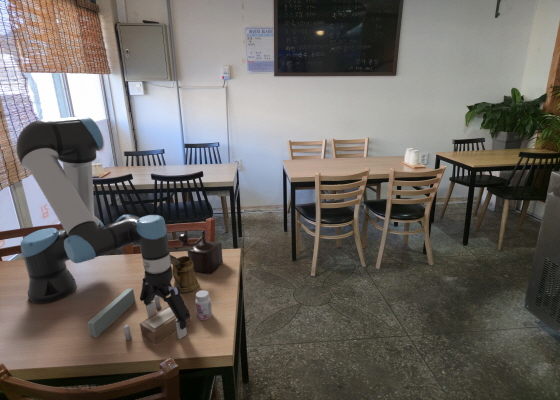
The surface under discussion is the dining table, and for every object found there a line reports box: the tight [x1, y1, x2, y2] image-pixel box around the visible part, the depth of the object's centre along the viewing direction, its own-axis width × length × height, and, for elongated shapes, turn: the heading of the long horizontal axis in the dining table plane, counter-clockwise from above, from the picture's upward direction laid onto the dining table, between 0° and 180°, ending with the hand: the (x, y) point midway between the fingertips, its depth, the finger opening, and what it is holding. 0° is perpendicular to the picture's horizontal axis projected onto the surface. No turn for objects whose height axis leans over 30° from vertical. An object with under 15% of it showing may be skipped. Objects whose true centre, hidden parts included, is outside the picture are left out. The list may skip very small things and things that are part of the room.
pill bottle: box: [195, 290, 213, 321], centre depth 113 cm, size 5×5×8 cm
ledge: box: [87, 287, 161, 341], centre depth 113 cm, size 13×19×5 cm
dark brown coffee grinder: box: [177, 229, 224, 275], centre depth 140 cm, size 16×11×18 cm
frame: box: [139, 305, 192, 346], centre depth 108 cm, size 7×13×5 cm, turn 144°
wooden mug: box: [170, 254, 199, 294], centre depth 127 cm, size 9×14×18 cm, turn 160°
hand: (167, 328), depth 109 cm, fingers open, 13 cm apart
